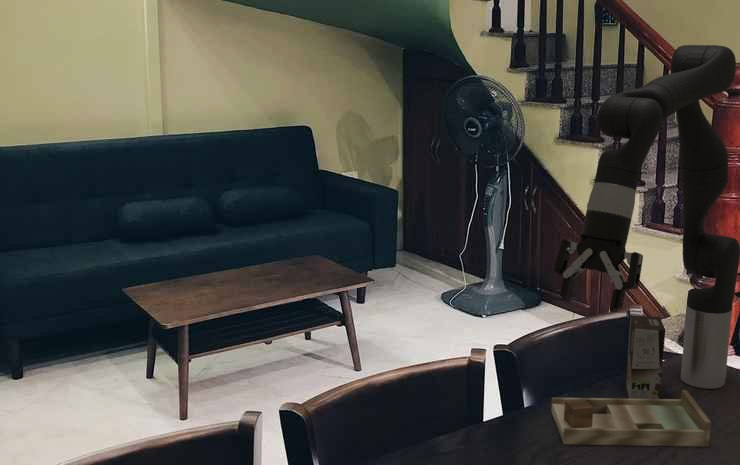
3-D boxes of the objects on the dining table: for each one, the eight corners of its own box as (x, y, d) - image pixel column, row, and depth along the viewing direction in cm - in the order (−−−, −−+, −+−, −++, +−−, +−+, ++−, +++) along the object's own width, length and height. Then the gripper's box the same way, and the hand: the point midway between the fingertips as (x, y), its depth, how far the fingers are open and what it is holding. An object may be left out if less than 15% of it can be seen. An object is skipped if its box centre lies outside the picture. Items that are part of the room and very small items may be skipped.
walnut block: (563, 419, 171) (564, 400, 170) (582, 417, 172) (584, 398, 171) (572, 428, 167) (573, 409, 166) (592, 426, 168) (593, 407, 167)
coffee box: (660, 403, 183) (666, 330, 179) (628, 400, 184) (633, 328, 181) (655, 386, 192) (661, 316, 188) (625, 383, 193) (630, 314, 189)
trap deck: (563, 444, 165) (564, 419, 164) (551, 411, 179) (552, 388, 178) (708, 446, 164) (711, 421, 163) (684, 413, 178) (686, 390, 177)
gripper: (657, 222, 147) (637, 317, 147) (578, 210, 155) (559, 299, 155) (643, 216, 141) (622, 314, 141) (561, 203, 149) (541, 296, 149)
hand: (589, 306), depth 148 cm, fingers open, 8 cm apart
